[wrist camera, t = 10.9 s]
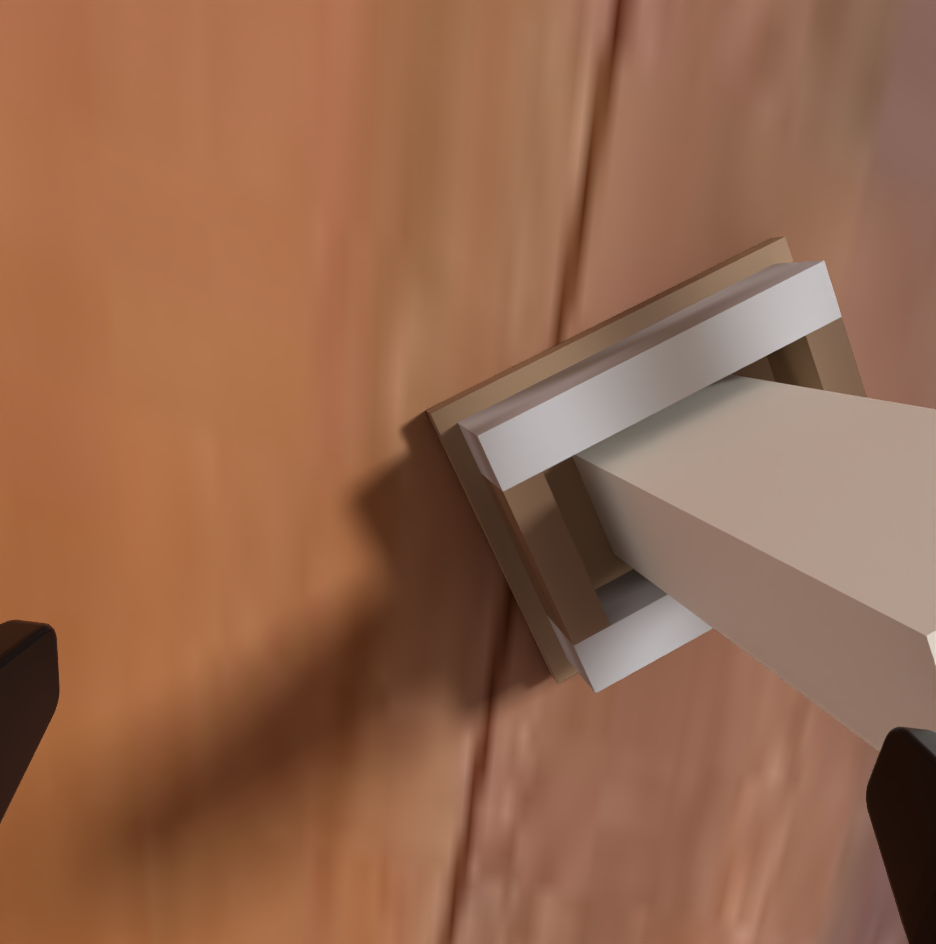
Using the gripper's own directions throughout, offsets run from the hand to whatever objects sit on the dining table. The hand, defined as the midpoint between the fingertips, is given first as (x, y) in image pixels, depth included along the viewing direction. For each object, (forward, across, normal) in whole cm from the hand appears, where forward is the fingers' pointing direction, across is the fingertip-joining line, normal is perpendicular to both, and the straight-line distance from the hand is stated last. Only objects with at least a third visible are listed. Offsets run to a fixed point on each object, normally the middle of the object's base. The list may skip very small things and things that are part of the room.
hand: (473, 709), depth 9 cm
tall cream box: (+13, -5, +2) cm, 14 cm away
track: (+14, -5, +2) cm, 14 cm away
